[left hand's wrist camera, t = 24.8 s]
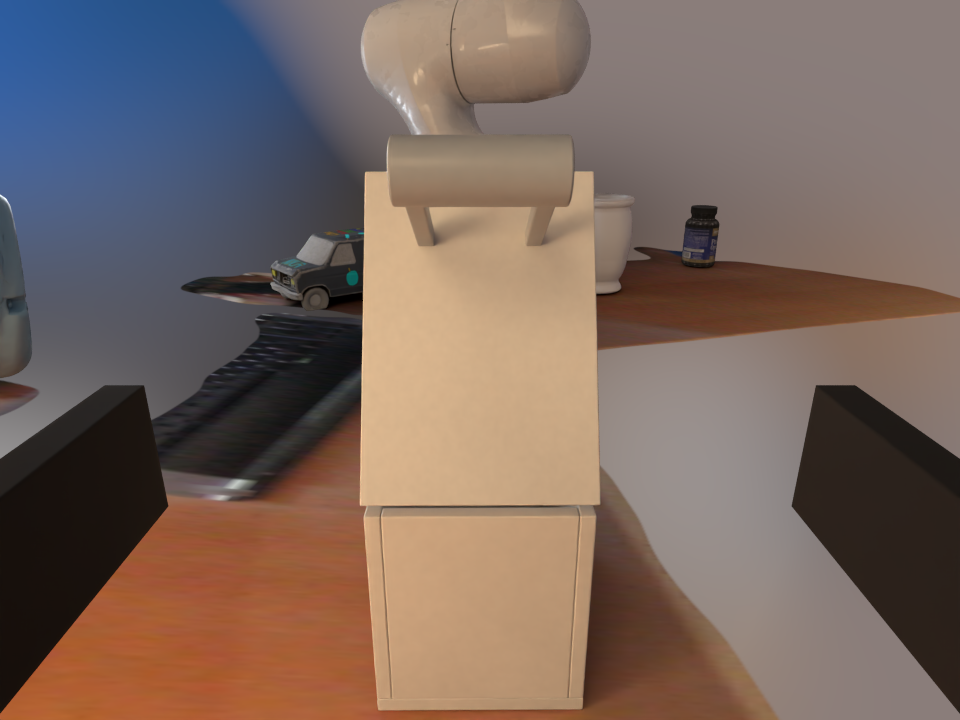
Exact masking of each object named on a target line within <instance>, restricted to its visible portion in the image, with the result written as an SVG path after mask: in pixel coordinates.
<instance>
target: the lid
mask: <svg viewBox="0 0 960 720" xmlns="http://www.w3.org/2000/svg"><path fill="white" fill-rule="evenodd" d="M574 170H575V154H574V143H573V139H572V136H571V135H391V136H390V137H389V140H388V147H387V172H365V216H364V279H363V342H362V405H361V468H360V506H497V505H600V504H601V498H600V451H599V404H598V358H597V310H596V263H595V216H594V173H593V172H574Z"/></svg>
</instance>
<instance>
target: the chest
mask: <svg viewBox="0 0 960 720" xmlns="http://www.w3.org/2000/svg"><path fill="white" fill-rule="evenodd" d="M596 521H597V516H596V513H595V509H594V506H593V505H497V506H367V508H366V511H365V515H364V529H365V542H366V556H367V569H368V582H369V595H370V608H371V622H372V635H373V648H374V661H375V674H376V687H377V703H378V710H554V709H582V708H583V693H584V680H585V667H586V653H587V640H588V627H589V614H590V600H591V587H592V574H593V561H594V547H595V534H596Z"/></svg>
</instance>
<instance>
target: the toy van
mask: <svg viewBox="0 0 960 720" xmlns="http://www.w3.org/2000/svg"><path fill="white" fill-rule="evenodd" d="M271 272H272V277H273V280H274V282H272V283H271V285H272V289H274V290H276V291H278V292H280V293H281V295H282V296H283V297H284V298H290V299H293V300H301V303H302V306H303V308H304V309H305V310H306V311H311V310H318V309H323V308H326V307H327V305H328V301H329V298H328V296H329V297H335V296H341V295H348V294H354V293H360V292H363V279H364V228H357V229H347V230H338V231H331V232H325V233H316V234H313V235H312V236H311V237H310V238H309V240H308V241H307V243H306V244H305V245H304V247H303V248H302V250H301V251H300V253H299V254H298V255H297V256H294V257H290V258H286V259H282V260H278V261H275V262H274V263H273V264H272V265H271Z"/></svg>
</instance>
